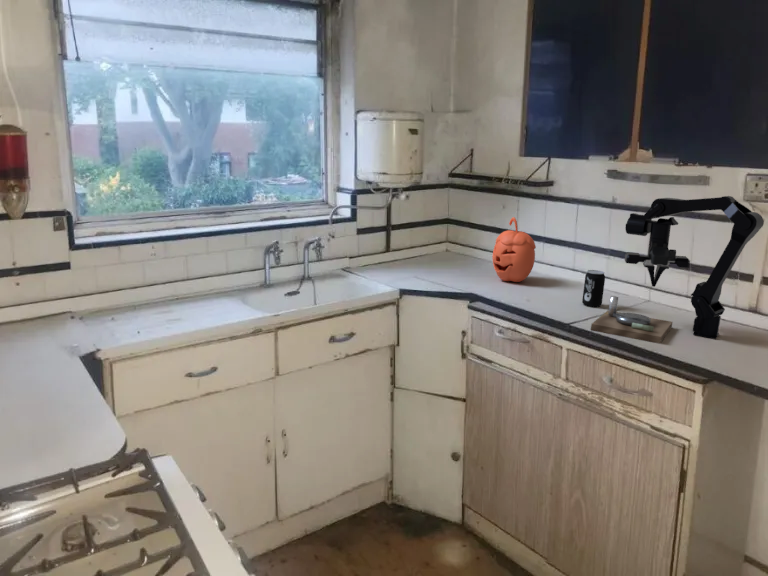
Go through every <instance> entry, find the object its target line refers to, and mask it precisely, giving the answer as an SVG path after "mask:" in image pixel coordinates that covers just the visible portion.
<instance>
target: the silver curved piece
mask: <svg viewBox="0 0 768 576" xmlns="http://www.w3.org/2000/svg"><path fill="white" fill-rule="evenodd" d="M618 304H619V296H616V295H611V296H610V300H609V304H608V305H609V306H608V310H609V312H608V315H609V316H614V317H616V321H617V322H619V323H622V324H625V325H629V326H632V323H637V324H643V325H648V326H649V325H650V322H651V319H650V318H651V317H649V316H646V315H644V314H640V313H633V312H620V313H616V312H618V306H619V305H618Z"/></svg>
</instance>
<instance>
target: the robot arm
mask: <svg viewBox="0 0 768 576" xmlns="http://www.w3.org/2000/svg"><path fill="white" fill-rule="evenodd" d="M650 204H651V205H650V207H649V209H648V210H647V211H646V212H645V213H644V214H640V213H634V212H633V213H632V212H631V213H630V214H629V217H628V219H627V222H626V223H625V228H624V229H625V233H626V235H627V234H628V235H634V236H641V237H646V236H648V234H649V241H648V249H647V255H640V253H639V252H631V251H630V252H629V251H628V252H626V253H625V254H624V262H625V263H626V264H633V265H637V264H639V263H640V262H642V265H643V267H644V268H646V269H647V271H648V275H649V279H650V283H651V287H654V288H655V287H656V285H657V284H658V282H659V279H660V278H661V276H662V274H663V273H664V272H665V270H670V266H669V265H670V264H671V265H676V266H677V267H678V268H684V269H687V268H690V265H691V261H690V259H689V258H688V256H686V255H685V256H684V255H677V250H676V249H669V245H670V243H669V242H670V235H671V226H677V225H679V222H678V221H677V220H676V219H675V217H674V216H673V215H677V214H682V213H686V212H687V213H688V212H689V213H690V212H702V211H717V210H719V211H720V210H721V211H722V212H723V213H724V214H725V215H726V217H727V218H728V220H730V221H731V222H732V223H733V225H732V228H731V234H730V240H729V241H728V243H727V245H726V246H725V248H724V250H723V252H722V254H721V255H720V257H719V259H718V261H717V263H716V264H715V266H714V268H713V269H712V271H711V273H710V274H709V276H708V278H707V280H706V281H701V282H699V283H697V284H696V286H695V289H694V291H693V292H692V293H691V294H690V296H691V299H690V303H691V305H692V307H693V308H694V312H695V316H696V317H694V319H693V320H694V321H693V326H692V333H693V336H696V337H697V336H698V337H702V338H709V339H713V340H714V339H715V340H716V339H717V338H718V337H719V330H720V329H719V328H720V323H721V319H722V318H721V317H722V316H721V315H723V314H724V312H725V311H726V309H725V307H724V306H723V304H722V303H721V302H720V301H719V300H720V297H721V295H722V287H723V284H724V283H725V281H726V279H727V277H728V275H729V274H730V272H731V271H732V268H733V267H734V266H735V264H736V262H737V260H738V258H739V257H740V256H741V253H742V251H743V250H744V248H745V246H746V245H747V243H749V242H750V241H751V239H753V238H754V237H755V236H756V235H757V233H758V232H759V231H760V230H761V229H762V228H763V226H764V218H763V216H762V215H761V213H758V212H755V211H752V210H750V208H748V207H747V206H745V205H743V204H742V203H740V202H739V201H738V200H737V199H736V198H734V196H732V195H731V196H730V195H725V196H721V197H708V198H693V199H682V198H673V197H662V198H655V199H654V200H653V201H652V203H650ZM669 216H671V217H669ZM662 217H669V218H662ZM652 219H657V220H652ZM655 265H656V266H655ZM655 267H656V269H655Z"/></svg>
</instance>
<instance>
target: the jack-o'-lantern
mask: <svg viewBox="0 0 768 576" xmlns="http://www.w3.org/2000/svg"><path fill="white" fill-rule="evenodd" d="M512 223H514V227H515V228H514V229H515V230H511V229H508V230H504V231H502V232H500V234H499V235H498V236H497V237H496V239H495V244H494V246H493V247H494V248H493V251H492V256H491V257H492V264H493V268H494V271H495V273H496V275H497V277H498V278H499V279H500V280H502V281H504V282H514V283H519V282H522V281H524V280H526V278H527V277H529V275H530V274H531V272H532V271H533V269H534V268H533V267H534V264H535V261H536V260H535V259H536V251H535V249H537V248H536V247H537V246H536V243H535V240H534V239H533V238H532V236H530V235H529V234H528V233H526V231H522V230H521V231H520V230H519V229H518V228H519V227H518V221H517V219H516V217H514V216H512V218H510V220H509V222H508V224H509V226H512V225H513V224H512ZM518 230H519V231H518Z"/></svg>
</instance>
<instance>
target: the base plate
mask: <svg viewBox="0 0 768 576" xmlns="http://www.w3.org/2000/svg"><path fill="white" fill-rule="evenodd" d="M608 312H609V309H608V310H606V311H605V312H603V314H602V315H600V316H599V317H598V318H596V320H594V321H593V322H592V323H591V326H590V331H593V332H594V331H595V332H597V333H599V332H600V333H603V334H610V335H615V336H620V337H625V338H630V339H635V340H640V341H645V342H650V343H656V344H661V343H662V341H663V340H664V339H665V338H666V336H667V335H668V333H669V332H670V331H671V329H672V328H673V321H670V320H664V319H658V318H654V317H653V318H652V317H649V318H650V319H651V322H650V325H649V326H648V325H643V324H637V323H632V326H629V325H625V324H622V323H619V322H617V321H616V317H614V316H609V315H608ZM616 313H621V312H619V311H617V312H616Z"/></svg>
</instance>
